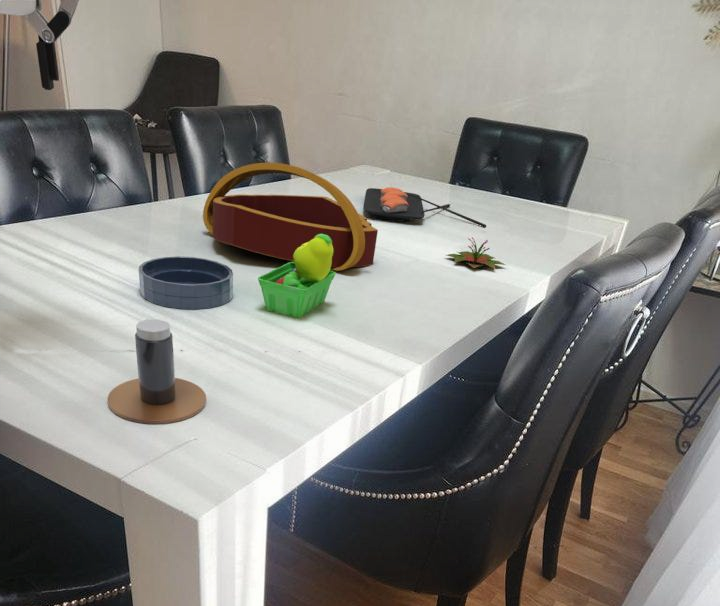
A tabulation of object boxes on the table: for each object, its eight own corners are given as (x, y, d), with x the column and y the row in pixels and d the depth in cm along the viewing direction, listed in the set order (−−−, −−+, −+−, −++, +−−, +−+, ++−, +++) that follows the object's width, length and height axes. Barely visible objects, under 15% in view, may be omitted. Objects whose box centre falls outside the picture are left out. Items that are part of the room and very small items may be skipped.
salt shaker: (139, 405, 67) (133, 332, 62) (140, 389, 69) (134, 318, 65) (175, 405, 68) (172, 332, 63) (175, 389, 70) (171, 318, 66)
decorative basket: (396, 273, 124) (413, 189, 118) (306, 279, 101) (321, 175, 94) (260, 234, 138) (269, 157, 132) (155, 232, 115) (158, 139, 108)
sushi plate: (365, 194, 173) (367, 179, 171) (476, 209, 174) (479, 193, 172) (361, 218, 149) (363, 201, 147) (490, 235, 150) (493, 218, 148)
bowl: (139, 312, 88) (137, 283, 86) (142, 281, 98) (140, 254, 96) (236, 314, 92) (236, 286, 89) (228, 284, 102) (228, 258, 100)
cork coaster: (104, 425, 64) (104, 421, 63) (110, 379, 71) (110, 376, 71) (208, 422, 66) (208, 419, 66) (203, 379, 74) (203, 376, 74)
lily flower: (472, 274, 122) (477, 249, 119) (432, 256, 129) (436, 232, 127) (517, 270, 128) (523, 246, 125) (476, 252, 135) (481, 230, 133)
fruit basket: (290, 292, 102) (294, 217, 95) (341, 305, 99) (349, 229, 93) (254, 313, 93) (256, 232, 86) (310, 328, 90) (316, 245, 84)
